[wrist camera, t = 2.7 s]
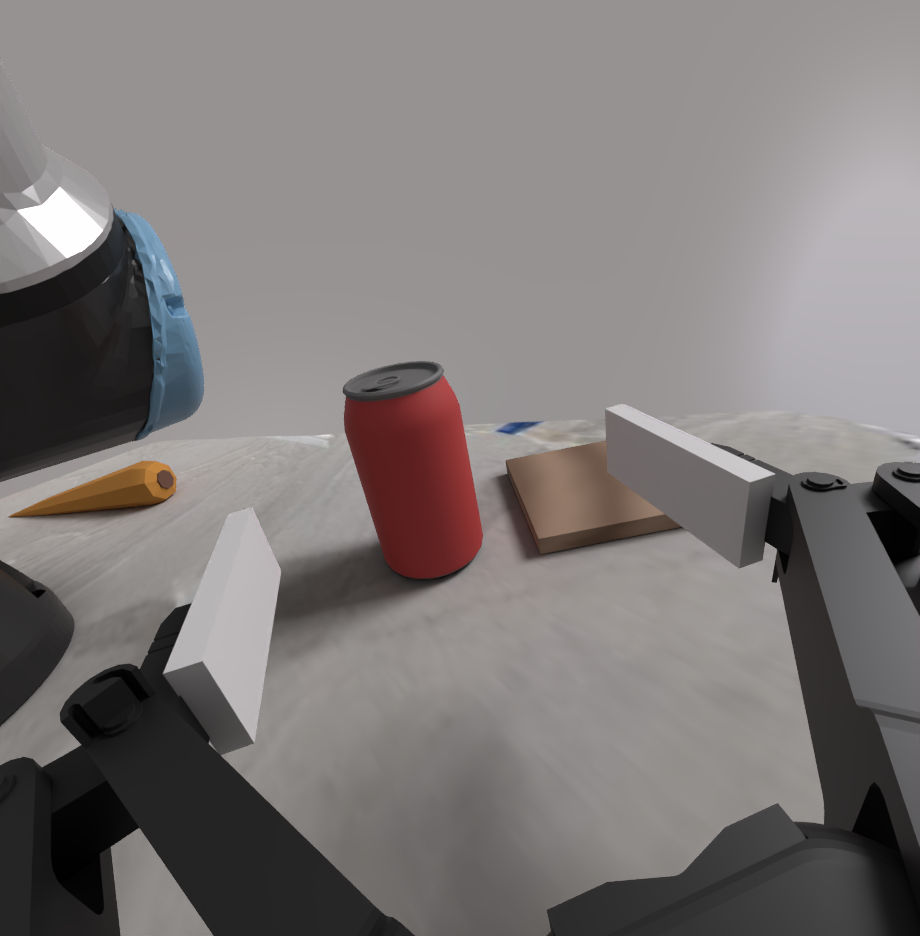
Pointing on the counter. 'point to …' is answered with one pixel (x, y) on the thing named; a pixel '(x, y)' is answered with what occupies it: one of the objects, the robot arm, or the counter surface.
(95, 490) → the carrot
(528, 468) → the walnut board
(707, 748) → the counter surface
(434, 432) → the beer can
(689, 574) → the counter surface
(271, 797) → the counter surface
